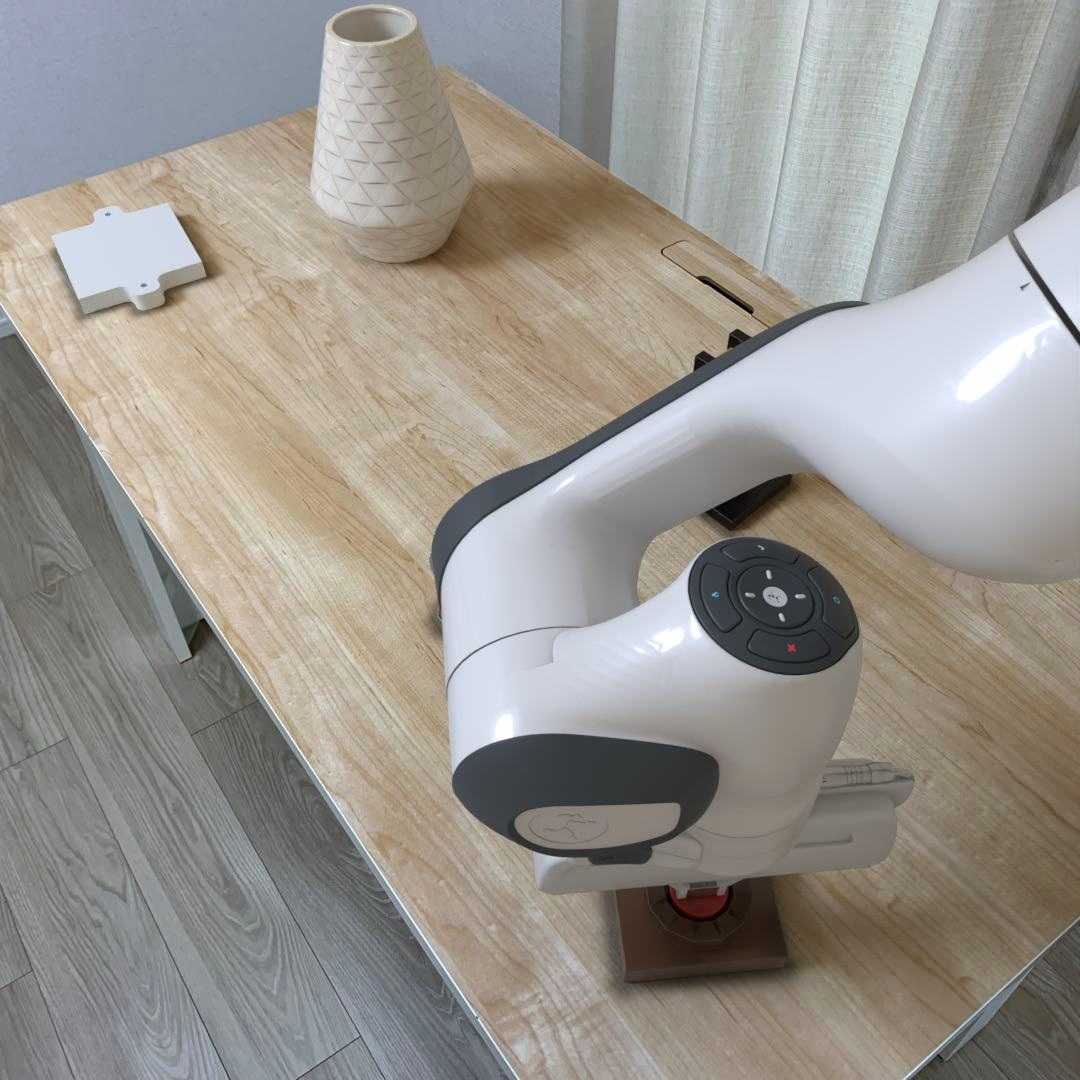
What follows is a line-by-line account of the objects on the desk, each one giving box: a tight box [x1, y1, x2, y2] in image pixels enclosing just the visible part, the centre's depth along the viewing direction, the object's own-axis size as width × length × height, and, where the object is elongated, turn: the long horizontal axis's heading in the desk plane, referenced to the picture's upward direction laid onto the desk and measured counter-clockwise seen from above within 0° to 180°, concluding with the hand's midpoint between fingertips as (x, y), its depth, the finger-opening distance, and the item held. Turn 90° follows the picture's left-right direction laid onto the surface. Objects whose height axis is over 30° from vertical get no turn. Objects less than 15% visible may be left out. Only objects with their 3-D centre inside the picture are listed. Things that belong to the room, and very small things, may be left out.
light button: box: [667, 886, 728, 922], centre depth 65 cm, size 4×4×2 cm
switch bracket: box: [692, 328, 793, 532], centre depth 87 cm, size 10×8×14 cm
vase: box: [309, 3, 476, 264], centre depth 108 cm, size 17×17×23 cm
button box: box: [611, 876, 789, 983], centre depth 66 cm, size 10×8×4 cm
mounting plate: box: [50, 202, 207, 315], centre depth 113 cm, size 18×13×2 cm
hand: (697, 885), depth 64 cm, fingers closed, pressing on light button
